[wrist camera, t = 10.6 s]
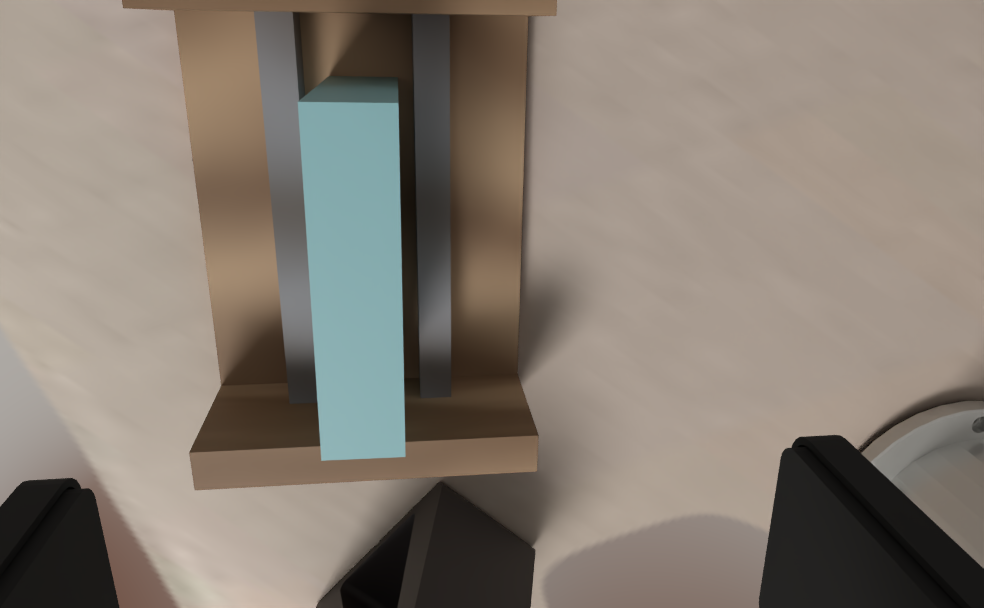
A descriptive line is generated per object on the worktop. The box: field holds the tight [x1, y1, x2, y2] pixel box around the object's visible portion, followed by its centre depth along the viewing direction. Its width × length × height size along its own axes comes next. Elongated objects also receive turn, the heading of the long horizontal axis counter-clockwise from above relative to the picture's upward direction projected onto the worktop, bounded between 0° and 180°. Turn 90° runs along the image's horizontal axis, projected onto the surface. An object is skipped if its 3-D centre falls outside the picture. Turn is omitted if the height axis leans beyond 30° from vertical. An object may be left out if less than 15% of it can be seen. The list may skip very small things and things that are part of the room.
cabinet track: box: [122, 0, 557, 490], centre depth 26 cm, size 17×12×6 cm
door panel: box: [298, 76, 405, 461], centre depth 24 cm, size 10×2×9 cm, turn 179°
